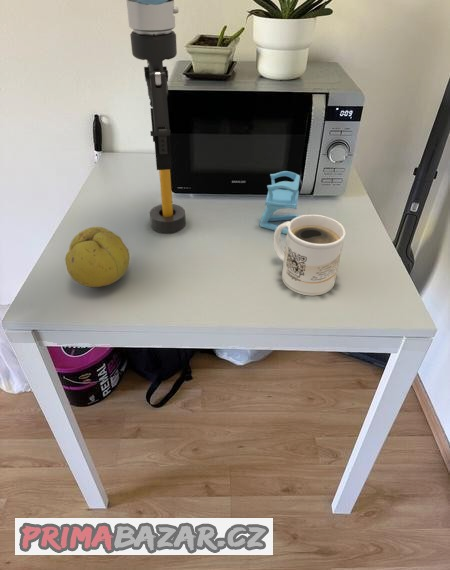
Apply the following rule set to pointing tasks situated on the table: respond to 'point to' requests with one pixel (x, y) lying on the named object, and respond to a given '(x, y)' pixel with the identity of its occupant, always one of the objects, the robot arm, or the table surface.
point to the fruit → (97, 257)
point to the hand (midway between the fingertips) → (161, 154)
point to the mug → (310, 253)
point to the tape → (167, 220)
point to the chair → (280, 199)
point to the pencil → (166, 192)
